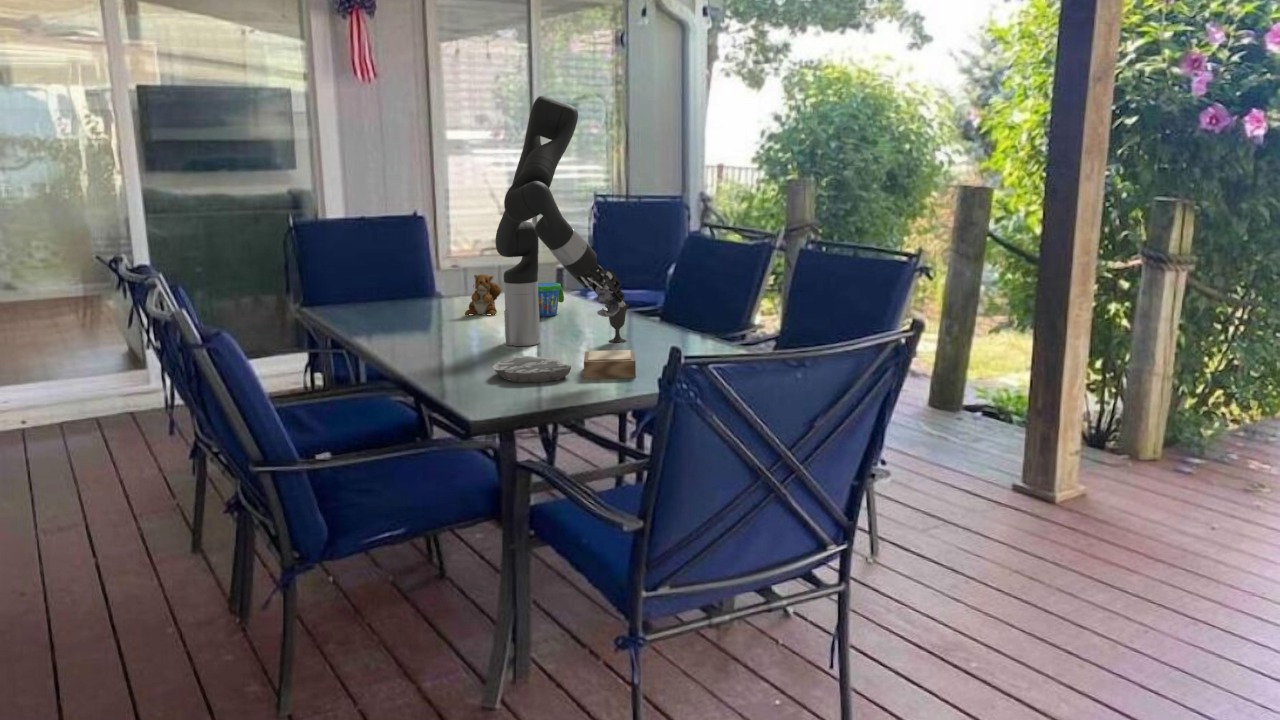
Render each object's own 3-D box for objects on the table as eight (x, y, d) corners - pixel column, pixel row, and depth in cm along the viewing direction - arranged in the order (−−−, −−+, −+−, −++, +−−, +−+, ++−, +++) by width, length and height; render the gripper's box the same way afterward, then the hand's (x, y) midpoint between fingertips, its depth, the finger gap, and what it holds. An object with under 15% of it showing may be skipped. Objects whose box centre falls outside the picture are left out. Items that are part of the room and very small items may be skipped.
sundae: (627, 343, 265) (626, 289, 261) (603, 343, 266) (601, 289, 263) (632, 339, 271) (631, 286, 268) (608, 338, 272) (607, 285, 269)
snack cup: (553, 310, 322) (552, 280, 319) (574, 314, 314) (573, 283, 312) (516, 316, 311) (514, 285, 309) (536, 320, 304) (535, 288, 301)
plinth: (584, 378, 225) (583, 360, 224) (585, 367, 237) (585, 350, 236) (635, 377, 225) (635, 359, 224) (634, 366, 237) (634, 349, 236)
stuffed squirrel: (463, 316, 313) (461, 276, 310) (476, 309, 326) (474, 270, 324) (493, 317, 311) (491, 276, 309) (505, 309, 325) (503, 270, 322)
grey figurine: (602, 319, 225) (602, 276, 222) (593, 316, 229) (592, 274, 227) (623, 317, 227) (622, 275, 225) (613, 314, 232) (612, 272, 230)
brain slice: (475, 377, 230) (475, 365, 229) (532, 365, 241) (531, 353, 241) (527, 390, 216) (526, 377, 215) (584, 377, 228) (583, 365, 227)
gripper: (601, 240, 214) (642, 289, 224) (562, 237, 225) (603, 283, 235) (583, 266, 212) (625, 314, 222) (544, 261, 222) (586, 307, 233)
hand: (613, 298), depth 228 cm, fingers closed on grey figurine, 5 cm apart
